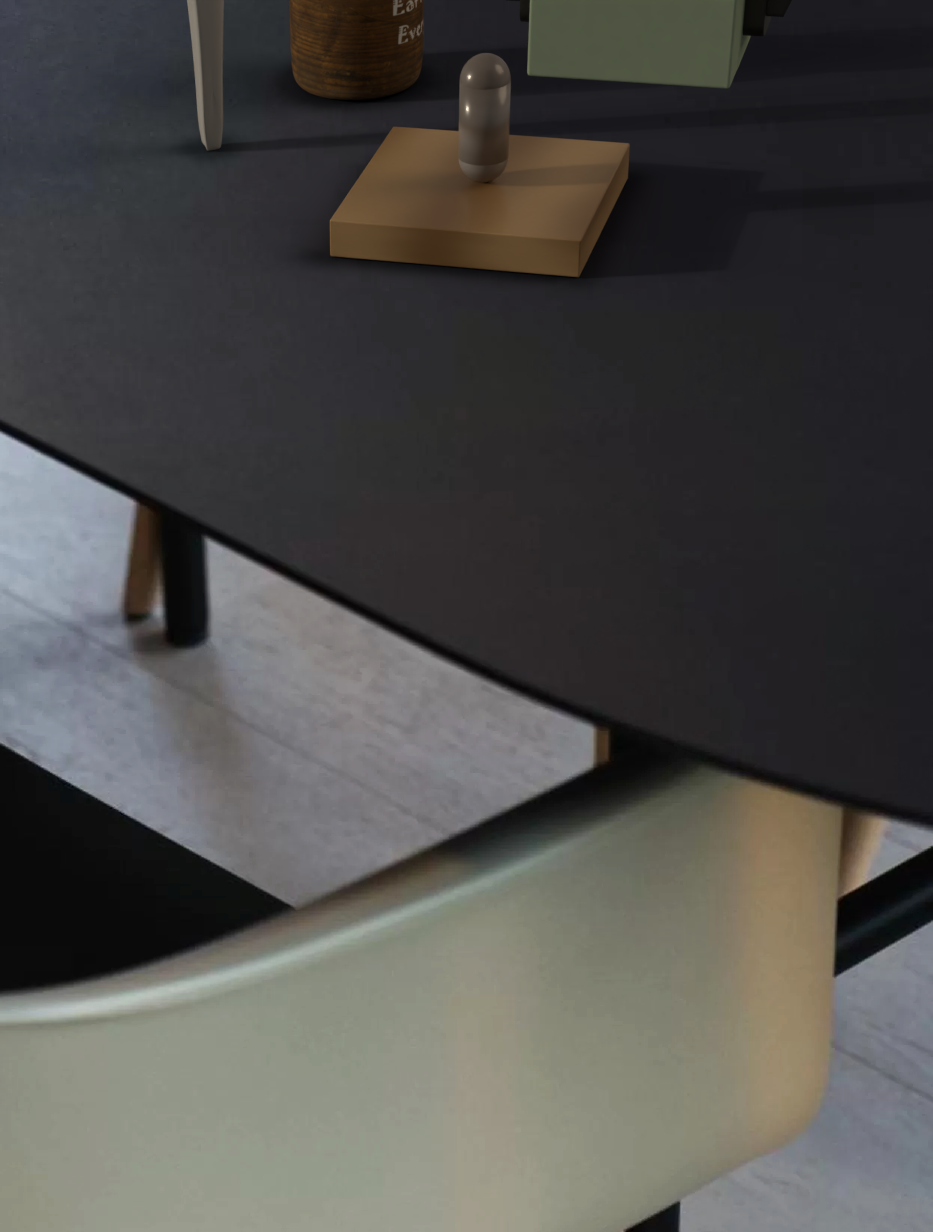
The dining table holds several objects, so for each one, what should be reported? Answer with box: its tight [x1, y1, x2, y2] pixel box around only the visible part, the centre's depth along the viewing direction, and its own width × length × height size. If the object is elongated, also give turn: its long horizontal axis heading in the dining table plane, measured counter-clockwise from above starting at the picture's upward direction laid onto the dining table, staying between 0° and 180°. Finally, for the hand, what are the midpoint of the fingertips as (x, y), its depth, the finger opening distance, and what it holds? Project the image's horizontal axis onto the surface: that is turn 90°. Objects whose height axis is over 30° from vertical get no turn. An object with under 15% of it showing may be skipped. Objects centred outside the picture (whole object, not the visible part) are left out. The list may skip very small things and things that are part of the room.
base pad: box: [329, 52, 631, 278], centre depth 107 cm, size 10×10×6 cm
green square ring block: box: [526, 0, 752, 89], centre depth 80 cm, size 6×6×3 cm
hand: (646, 18), depth 81 cm, fingers closed on green square ring block, 6 cm apart
